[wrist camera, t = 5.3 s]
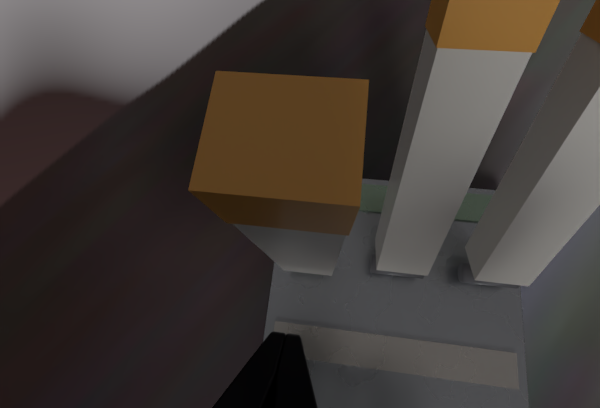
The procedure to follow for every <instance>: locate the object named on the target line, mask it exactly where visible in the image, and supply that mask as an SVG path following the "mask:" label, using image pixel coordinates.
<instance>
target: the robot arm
mask: <svg viewBox="0 0 600 408" xmlns="http://www.w3.org/2000/svg"><path fill="white" fill-rule="evenodd" d="M212 408H318V407H317V403H316V398H315V394H314V390H313V386H312V382H311V377H310V373H309V369H308V365H307V360H306V356H305V352H304V348H303V343H302V339H301V336H300V335H297V334H290V333H288V334H285V333H283V332H275V331H273V332H271V333H270V334H269V335H268V337H267V338H266V339H265V340H264V342H263V343H262V344H261V346H260V347H259V348H258V349H257V351H256V352H255V353H254V355H253V356H252V357H251V358H250V360H249V361H248V362H247V364H246V365H245V366H244V367H243V369H242V370H241V371H240V373H239V374H238V375H237V376H236V378H235V379H234V380H233V382H232V383H231V384H230V385H229V387H228V388H227V389H226V391H225V392H224V393H223V394H222V396H221V397H220V398H219V400H218V401H217V402H216V404H215V405H214V406H213V407H212Z"/></svg>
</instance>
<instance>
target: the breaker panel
mask: <svg viewBox="0 0 600 408" xmlns="http://www.w3.org/2000/svg"><path fill="white" fill-rule="evenodd" d="M388 184H389V181H385V180H373V179H362V188H361V202H360V208H359V211H358V214H357V216H356V219H355V221H354V224H353V226H352V229H351V232H350V234H349V236H347V235H346V236H345V239H344V242H343V245H342V248H341V251H340V254H339V257H338V260H337V262H336V265H335V268H334V271H333V274H332V276H328V275H319V274H311V273H302V272H294V271H285V270H283V269H282V268H281V267H280V266H279V265H277V264H276V263H275V262H274V268H273V276H272V283H271V290H270V297H269V304H268V311H267V318H266V325H265V332H264V339H263V342H264V340H265V339H266V338H267V337H268V335H269V334H270V333H271V332H273V331H275V332H283V333H285V334H288V333H290V334H297V335H300V336H301V339H302V343H303V348H304V352H305V356H306V360H307V365H308V369H309V373H310V377H311V382H312V386H313V390H314V394H315V398H316V403H317V407H318V408H529V400H528V386H527V372H526V359H525V345H524V331H523V317H522V303H521V289H520V287H519V288H517V289H514V288H506V287H497V286H488V285H479V284H471V283H462V282H460V281H459V279H458V267H459V264H460V263H461V262H463V263H469V260H468V257H467V253H466V250H465V246H466V244H467V242H468V240H469V238H470V237H471V235H472V233H473V231H474V229H475V227H476V226H477V224H478V222H479V220H480V218H481V216H482V215H483V213H484V211H485V209H486V207H487V205H488V204H489V202H490V200H491V198H492V196H493V194H494V193H495V191H496V190H488V189H476V188H469V189H468V191H467V193H466V195H465V197H464V199H463V201H462V204H461V206H460V208H459V210H458V212H457V214H456V216H455V219H454V221H453V223H452V225H451V227H450V229H449V231H448V234H447V236H446V238H445V240H444V242H443V244H442V246H441V249H440V251H439V253H438V255H437V257H436V259H435V261H434V263H433V266H432V268H431V270H430V272H429V274H428V276H424V278H423V279H420V278H411V277H402V276H393V275H385V274H376V273H370V258H371V254H372V253H373V254H376V250H375V237H376V233H377V229H378V225H379V220H380V216H381V212H382V208H383V204H384V200H385V196H386V192H387V188H388Z"/></svg>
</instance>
